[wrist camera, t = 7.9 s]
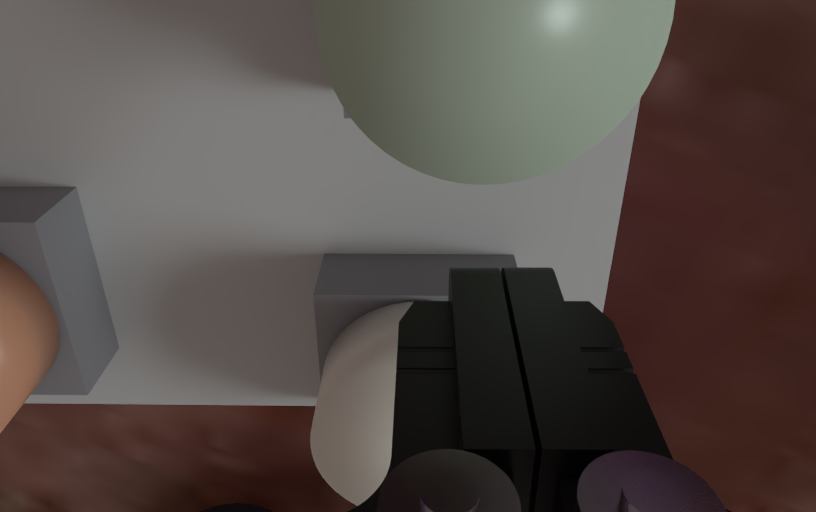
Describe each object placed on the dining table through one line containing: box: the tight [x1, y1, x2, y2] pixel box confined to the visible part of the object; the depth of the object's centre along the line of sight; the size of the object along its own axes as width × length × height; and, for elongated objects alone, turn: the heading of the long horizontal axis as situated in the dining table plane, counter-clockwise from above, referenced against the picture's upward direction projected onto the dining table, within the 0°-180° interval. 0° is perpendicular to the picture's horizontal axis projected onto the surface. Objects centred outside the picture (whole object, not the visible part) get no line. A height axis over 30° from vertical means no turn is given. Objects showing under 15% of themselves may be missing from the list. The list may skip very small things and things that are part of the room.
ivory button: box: [310, 302, 413, 506], centre depth 18 cm, size 5×5×5 cm
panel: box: [0, 0, 641, 406], centre depth 16 cm, size 18×22×3 cm
